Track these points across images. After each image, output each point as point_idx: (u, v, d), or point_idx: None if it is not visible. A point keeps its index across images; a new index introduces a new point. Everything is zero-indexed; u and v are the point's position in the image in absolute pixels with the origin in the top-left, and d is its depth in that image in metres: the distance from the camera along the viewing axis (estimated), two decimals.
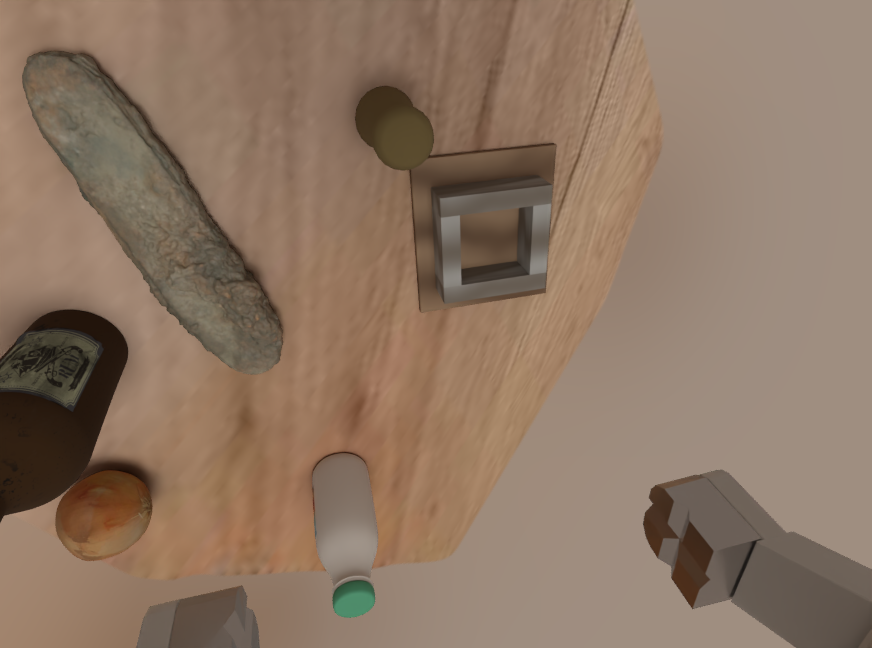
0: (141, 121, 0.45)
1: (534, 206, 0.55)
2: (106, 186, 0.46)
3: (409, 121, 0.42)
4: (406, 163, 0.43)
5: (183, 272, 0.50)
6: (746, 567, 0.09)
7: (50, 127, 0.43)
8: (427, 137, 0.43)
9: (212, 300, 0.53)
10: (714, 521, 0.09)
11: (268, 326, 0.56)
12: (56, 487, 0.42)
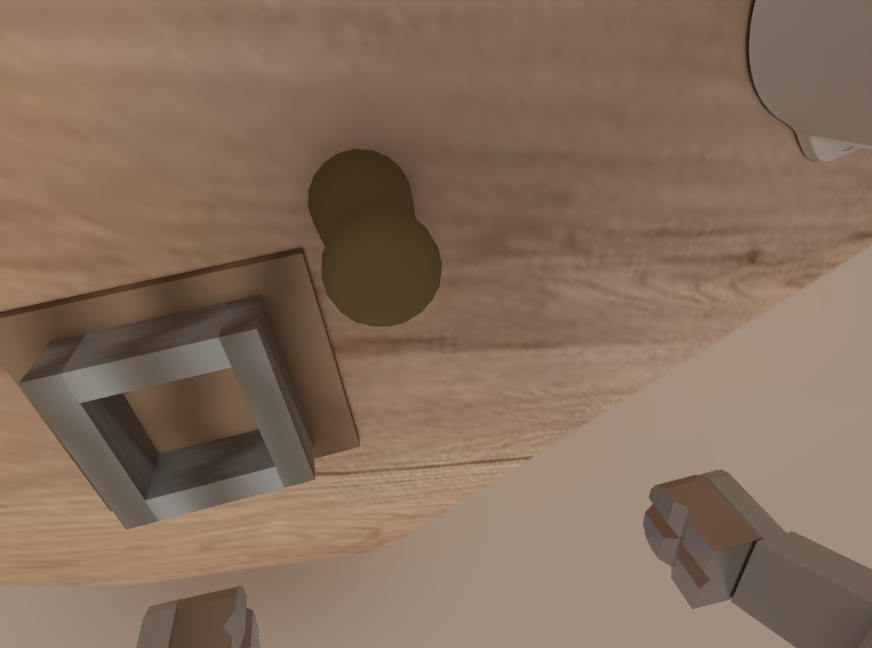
0: None
1: (274, 468, 0.33)
2: None
3: (425, 284, 0.22)
4: (344, 290, 0.21)
5: None
6: (745, 567, 0.09)
7: None
8: (399, 318, 0.22)
9: None
10: (714, 521, 0.09)
11: None
12: None
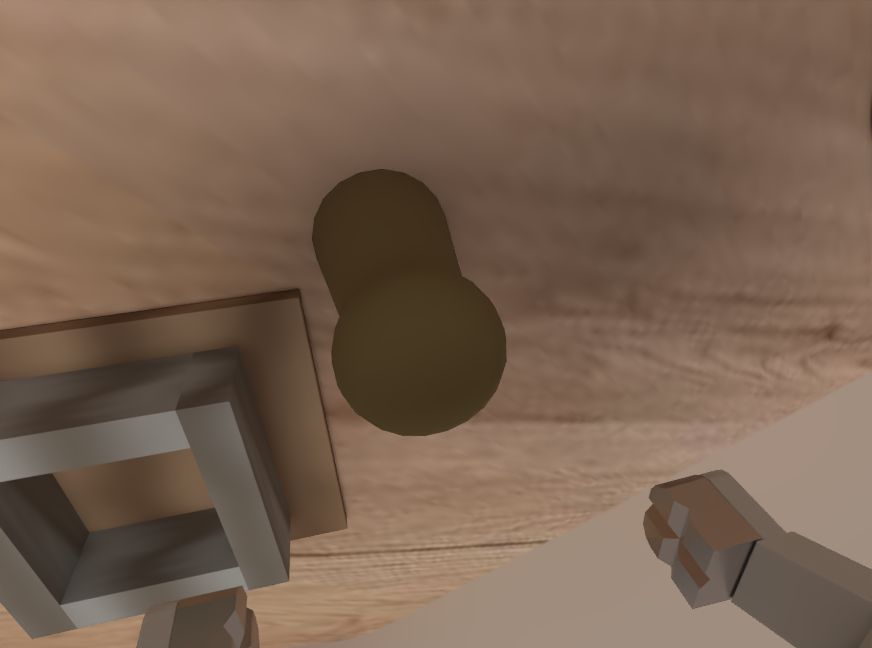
0: None
1: (238, 568, 0.25)
2: None
3: (484, 384, 0.15)
4: (366, 389, 0.14)
5: None
6: (745, 567, 0.09)
7: None
8: (440, 427, 0.15)
9: None
10: (714, 521, 0.09)
11: None
12: None
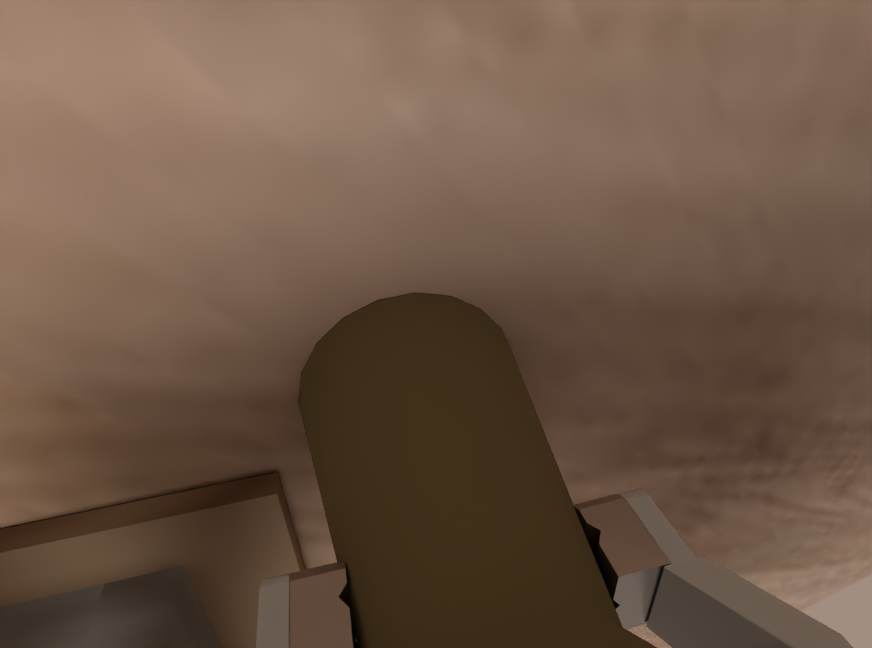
0: None
1: None
2: None
3: None
4: None
5: None
6: (656, 592, 0.09)
7: None
8: None
9: None
10: (624, 544, 0.09)
11: None
12: None
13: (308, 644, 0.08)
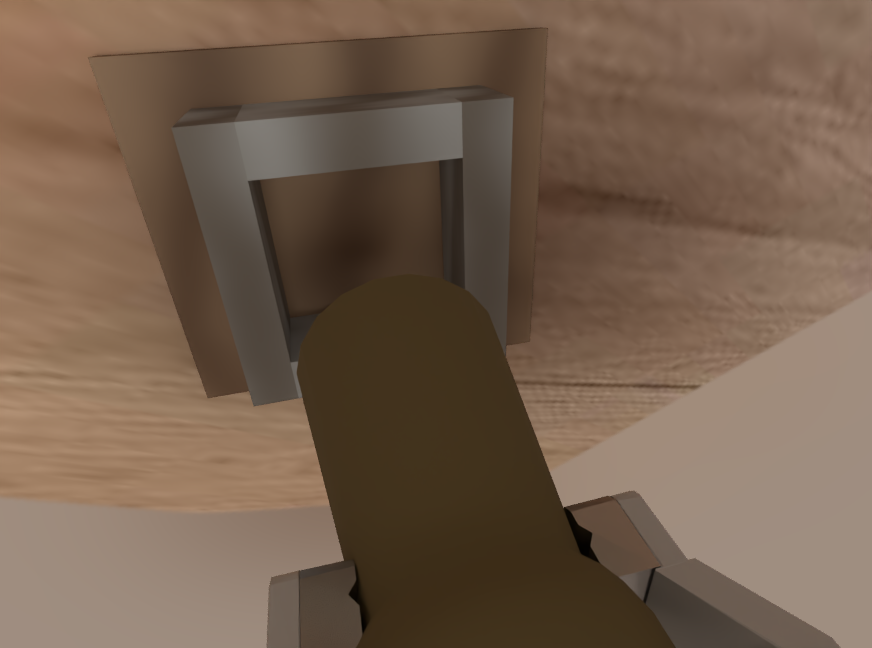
0: None
1: None
2: None
3: None
4: None
5: None
6: (648, 594, 0.09)
7: None
8: None
9: None
10: (615, 547, 0.09)
11: None
12: None
13: (317, 642, 0.08)
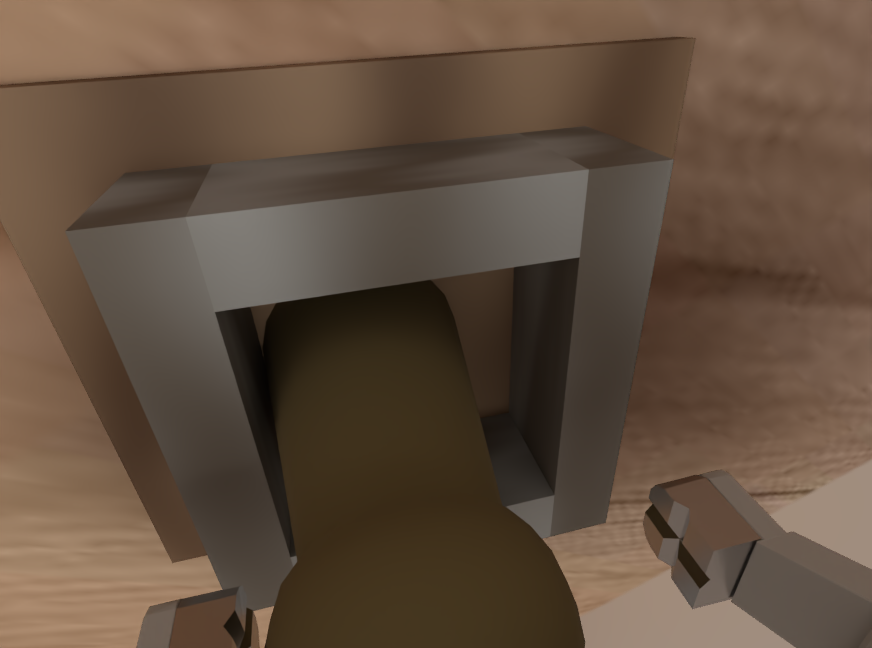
0: None
1: (552, 498, 0.16)
2: None
3: None
4: None
5: None
6: (745, 567, 0.09)
7: None
8: None
9: None
10: (714, 521, 0.09)
11: None
12: None
13: None
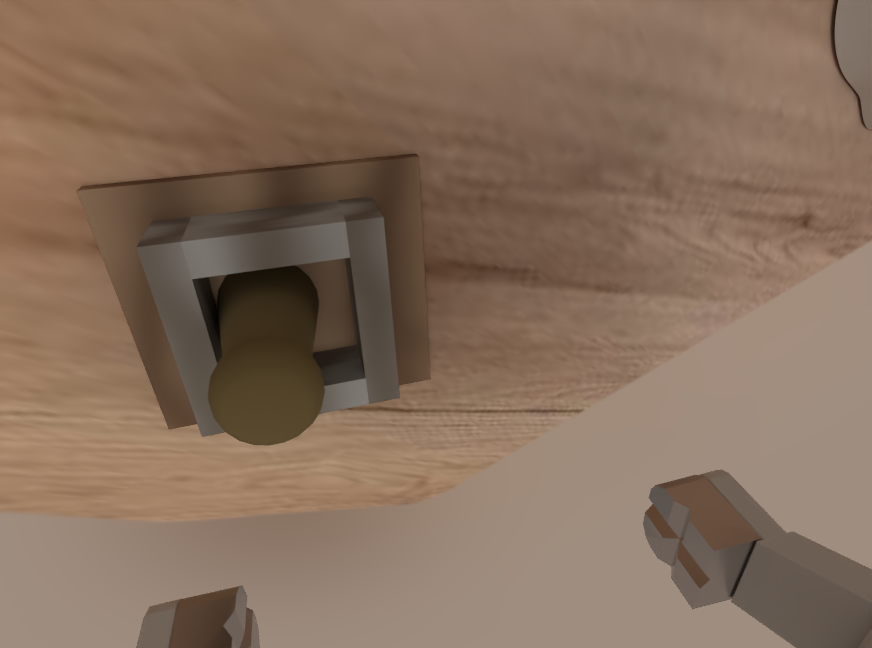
0: None
1: (364, 380, 0.32)
2: None
3: (304, 412, 0.24)
4: (225, 414, 0.23)
5: None
6: (745, 566, 0.09)
7: None
8: (277, 440, 0.24)
9: None
10: (714, 521, 0.09)
11: None
12: None
13: None
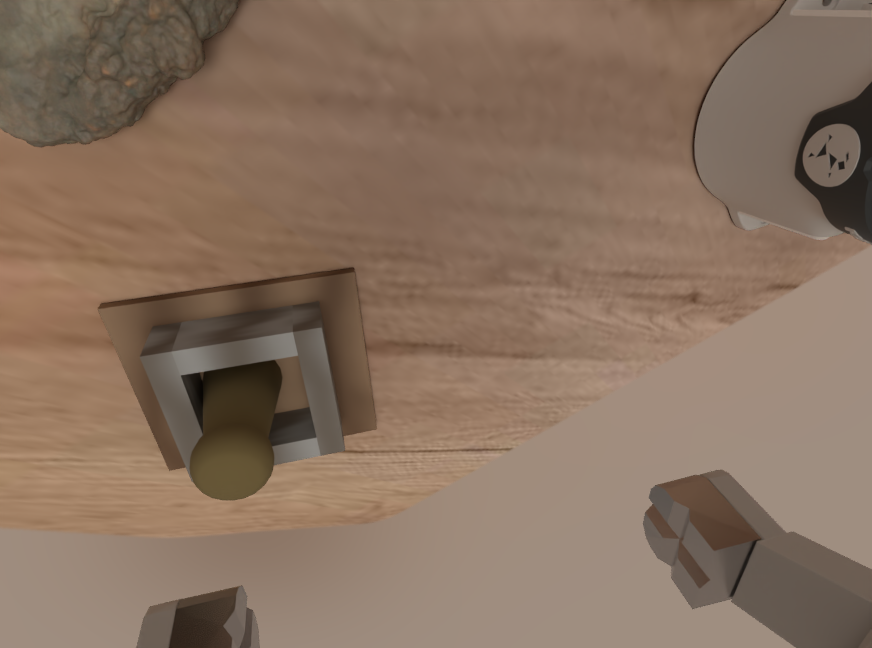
0: None
1: (315, 438, 0.42)
2: None
3: (257, 479, 0.34)
4: (201, 482, 0.33)
5: None
6: (745, 566, 0.09)
7: None
8: (239, 497, 0.34)
9: None
10: (714, 521, 0.09)
11: (119, 109, 0.28)
12: None
13: None
